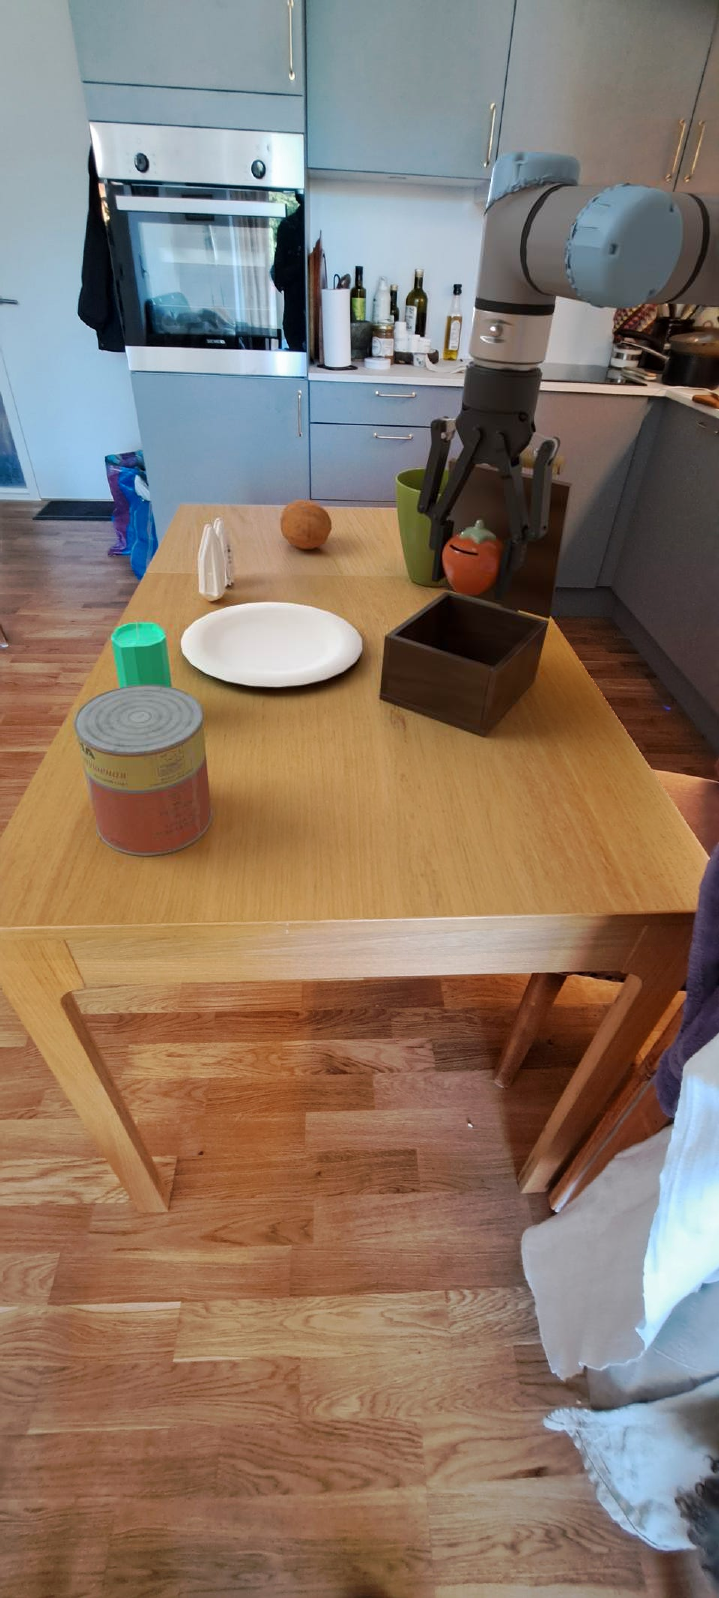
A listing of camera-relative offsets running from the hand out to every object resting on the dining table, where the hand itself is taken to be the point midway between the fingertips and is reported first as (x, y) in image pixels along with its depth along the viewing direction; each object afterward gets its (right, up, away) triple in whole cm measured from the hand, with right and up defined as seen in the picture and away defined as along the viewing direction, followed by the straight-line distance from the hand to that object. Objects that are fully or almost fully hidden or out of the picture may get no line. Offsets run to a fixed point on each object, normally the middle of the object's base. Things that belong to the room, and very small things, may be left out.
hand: (469, 586), depth 86 cm
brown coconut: (-23, +21, +48) cm, 57 cm away
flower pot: (-1, +13, +40) cm, 42 cm away
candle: (-38, -15, +2) cm, 41 cm away
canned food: (-34, -27, -12) cm, 45 cm away
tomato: (0, 0, 0) cm, 0 cm away
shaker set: (-36, +8, +31) cm, 48 cm away
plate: (-25, -4, +16) cm, 30 cm away
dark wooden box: (0, -11, +11) cm, 15 cm away
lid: (+4, +6, +4) cm, 8 cm away
